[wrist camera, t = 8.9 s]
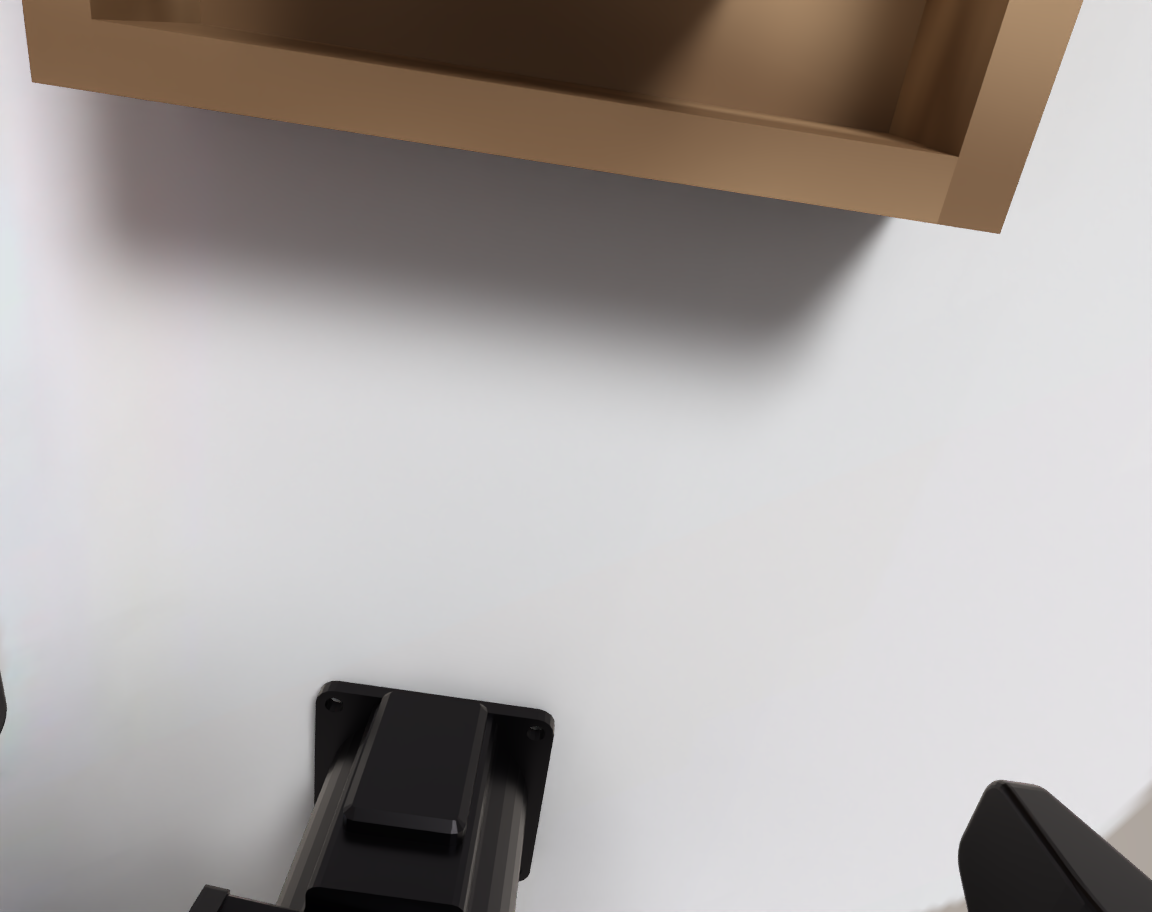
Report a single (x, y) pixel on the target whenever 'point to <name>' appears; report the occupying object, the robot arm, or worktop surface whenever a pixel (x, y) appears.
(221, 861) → the worktop surface
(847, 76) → the walnut crate
